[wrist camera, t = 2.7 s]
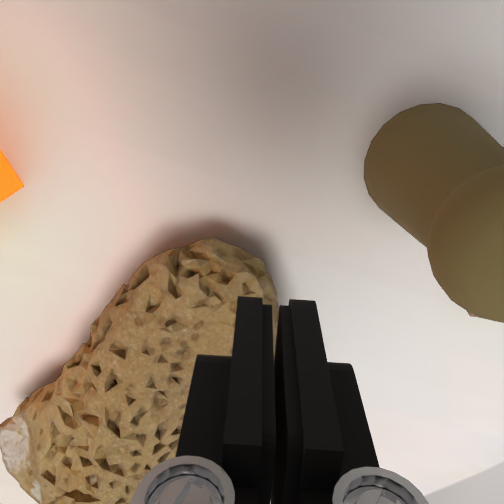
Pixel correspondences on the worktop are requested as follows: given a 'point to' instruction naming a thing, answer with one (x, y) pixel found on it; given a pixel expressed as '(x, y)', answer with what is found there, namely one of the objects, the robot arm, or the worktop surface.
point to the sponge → (132, 377)
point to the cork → (446, 198)
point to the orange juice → (8, 179)
